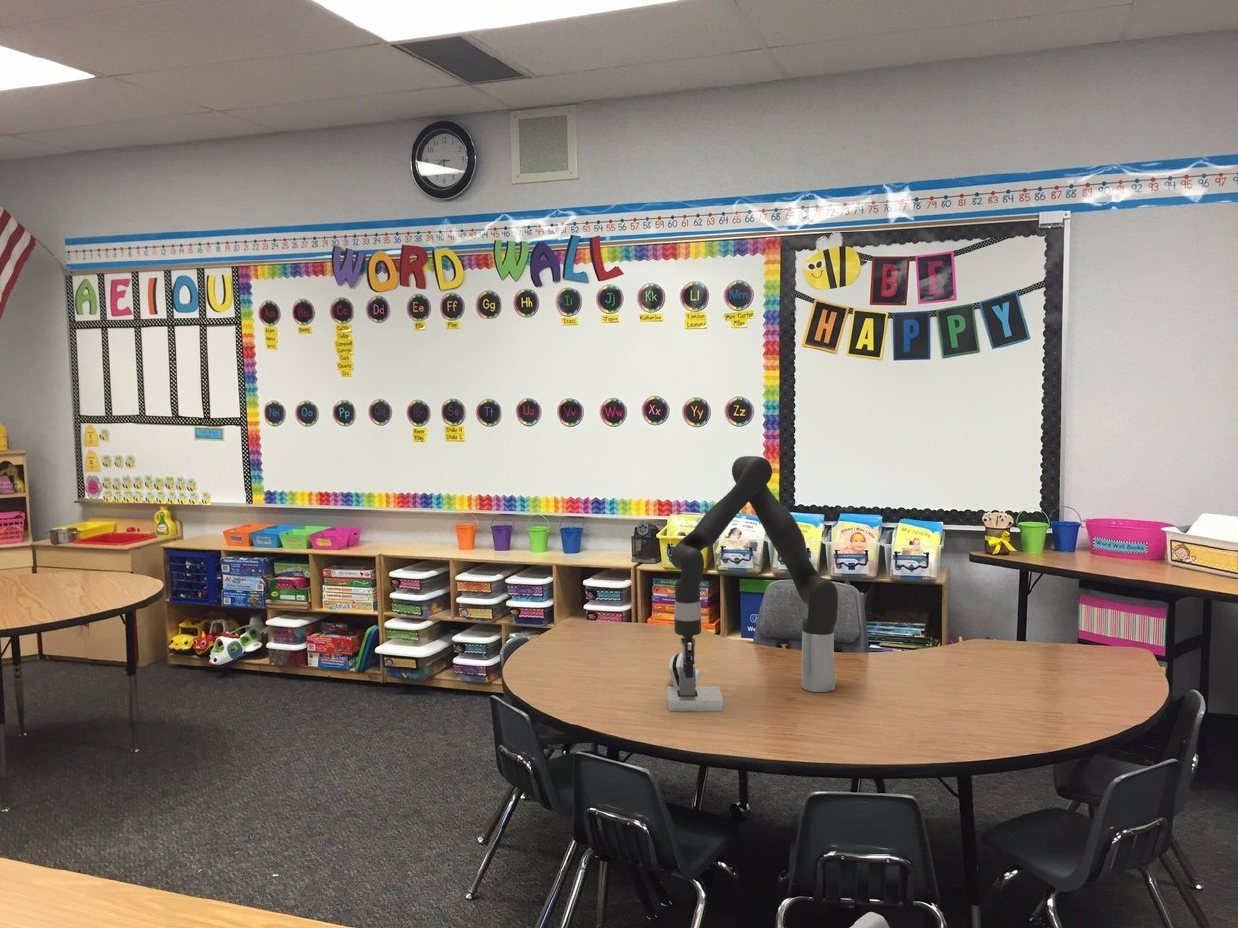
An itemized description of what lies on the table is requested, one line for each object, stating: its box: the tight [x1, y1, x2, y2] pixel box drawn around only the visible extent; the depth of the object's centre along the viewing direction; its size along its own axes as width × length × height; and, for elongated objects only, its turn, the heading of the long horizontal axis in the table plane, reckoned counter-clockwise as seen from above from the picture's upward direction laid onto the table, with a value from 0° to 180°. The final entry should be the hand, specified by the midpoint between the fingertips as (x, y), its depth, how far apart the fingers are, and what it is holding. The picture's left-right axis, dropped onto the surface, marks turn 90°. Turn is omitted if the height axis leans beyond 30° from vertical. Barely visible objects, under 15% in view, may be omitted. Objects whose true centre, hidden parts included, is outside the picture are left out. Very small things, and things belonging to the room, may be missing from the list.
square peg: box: [679, 666, 697, 697], centre depth 266 cm, size 4×4×10 cm
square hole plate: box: [666, 686, 724, 712], centre depth 267 cm, size 15×12×3 cm
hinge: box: [668, 651, 702, 687], centre depth 286 cm, size 17×5×10 cm, turn 165°
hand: (688, 672), depth 266 cm, fingers open, 8 cm apart
